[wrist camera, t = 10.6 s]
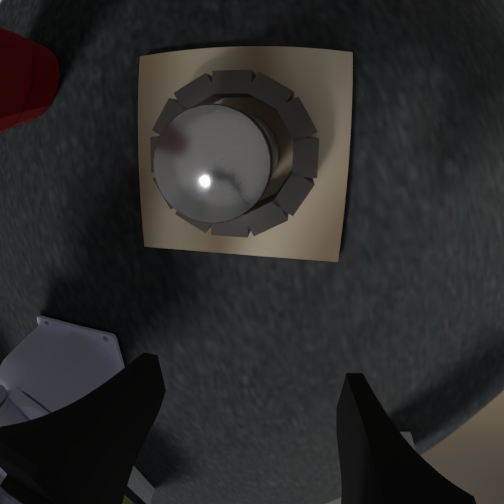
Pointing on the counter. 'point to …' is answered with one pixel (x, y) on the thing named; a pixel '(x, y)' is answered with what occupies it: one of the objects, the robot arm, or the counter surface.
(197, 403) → the counter surface
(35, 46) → the plastic cup
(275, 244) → the mount plate
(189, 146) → the silver capped cylinder
